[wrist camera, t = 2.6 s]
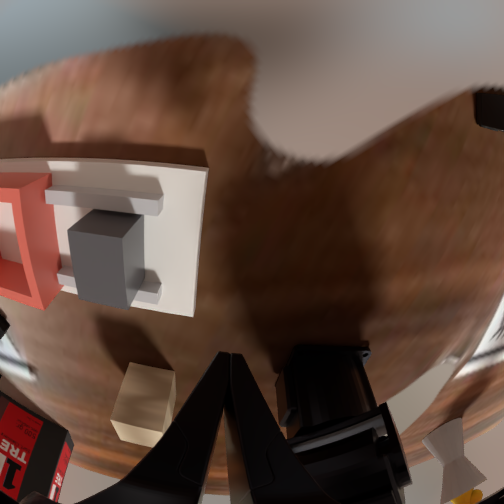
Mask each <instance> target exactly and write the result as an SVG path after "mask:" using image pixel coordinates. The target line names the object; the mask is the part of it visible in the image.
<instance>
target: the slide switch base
mask: <svg viewBox="0 0 504 504" xmlns="http://www.w3.org/2000/svg"><path fill="white" fill-rule="evenodd" d="M208 171H209V168H206V167H198V166H189V165H180V164H170V163H159V162H148V161H135V160H119V159H99V158H12V159H0V295H1V296H4V297H6V298H9V299H12V300H15V301H17V302H20V303H23V304H26V305H29V306H32V307H35V308H38V309H41V310H44V311H45V309H46V308H47V307H48V305H49V304H50V303H51V301H52V300H53V299H54V298H55V296H56V295H57V294H58V293H59V291H60V290H62V291H66V292H70V293H74V294H78V293H77V288H76V283H75V278H74V273H73V267H72V262H71V255H70V249H69V242H68V234H67V230H68V229H69V228H70V227H71V226H72V225H74V224H75V223H76V222H77V221H79V220H80V219H81V218H82V217H84V216H85V215H86V214H87V213H89V212H90V211H91V210H93V209H100V210H109V211H117V212H126V213H134V214H142V215H144V262H145V279H144V281H143V283H142V284H141V286H140V288H139V290H138V292H137V294H136V296H135V298H134V300H133V302H132V304H131V306H133V307H138V308H144V309H149V310H154V311H160V312H166V313H172V314H178V315H184V316H190V317H193V315H194V311H195V306H196V291H197V277H198V265H199V253H200V242H201V232H202V222H203V213H204V204H205V195H206V186H207V178H208Z"/></svg>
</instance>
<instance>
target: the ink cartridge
mask: <svg viewBox="0 0 504 504" xmlns="http://www.w3.org/2000/svg"><path fill="white" fill-rule="evenodd" d="M477 124H478V125H479V126H480V127H484V128H488V129H491V130H495V131H498V130H499V131H502V132H504V95H496V94H486V93H477Z"/></svg>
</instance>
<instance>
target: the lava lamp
mask: <svg viewBox="0 0 504 504" xmlns="http://www.w3.org/2000/svg"><path fill="white" fill-rule="evenodd" d="M422 443H423V444H424V445H425V446H426V447H427V449H428V450H429V451H430V452H431V453H432V454H433V456H434V457H435V458H436V459H437V460H438V462H439V463H440V464H441V465H442V466H443V468H444V469H443V484H442V494H441V504H444V503H446V502H448V501H451V502H452V503H453V504H475V503H477V502H479V501H481V499H482V496H483V494H482V491H480V490H477V489H476V490H473V489H474V487H475V486H477V485H479V484H480V483H482V482H484V481H485V480H487V479H486V477H485V476H484V475H483V474H482V473H481V472H480V471H479V470H478V469H477V468H476V467H475V466H474V465H473V464H472V463H471V462H470V461H469V460H468V459H467V458H466V457H465V456H464V441H463V427H462V418H456V419H454V420H451V421H449V422H447V423H445V424H444V425H442V426H440V427H438V428H437V429H435V430H434V431H432V432H431V433H430V434H428V435H427V436H426V437H425V438H424V439H423V440H422Z"/></svg>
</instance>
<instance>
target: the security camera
mask: <svg viewBox="0 0 504 504" xmlns="http://www.w3.org/2000/svg"><path fill="white" fill-rule="evenodd" d="M9 327H10V325H9V324H8V322H7V321H6V320H5V319H4V318H3V317H2V316H1V315H0V339H1V338H2V337H3V336H4V334H5V333H6V332H7V330H8V328H9ZM1 377H2V375H1V374H0V378H1Z"/></svg>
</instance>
